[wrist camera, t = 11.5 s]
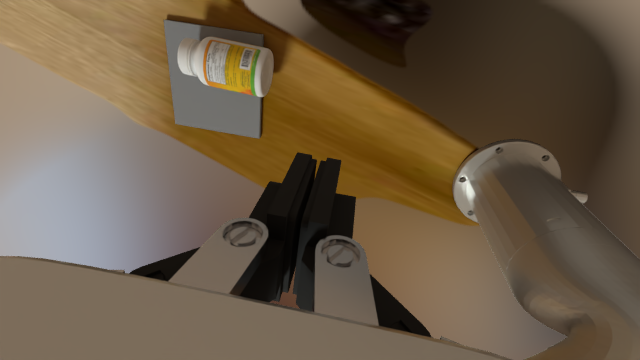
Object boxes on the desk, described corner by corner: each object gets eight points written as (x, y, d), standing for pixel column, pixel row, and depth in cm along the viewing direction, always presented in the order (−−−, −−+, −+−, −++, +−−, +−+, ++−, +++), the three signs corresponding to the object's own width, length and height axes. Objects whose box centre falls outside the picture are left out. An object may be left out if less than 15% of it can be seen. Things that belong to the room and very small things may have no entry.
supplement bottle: (273, 87, 40) (199, 71, 40) (276, 42, 36) (195, 25, 37) (259, 105, 36) (177, 87, 36) (261, 57, 32) (169, 38, 33)
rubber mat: (263, 34, 37) (262, 35, 37) (260, 136, 44) (259, 138, 43) (166, 19, 38) (163, 19, 37) (177, 122, 44) (175, 123, 44)
